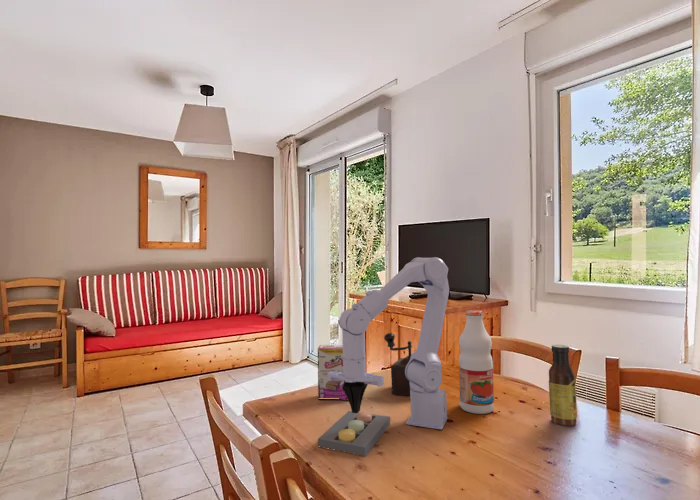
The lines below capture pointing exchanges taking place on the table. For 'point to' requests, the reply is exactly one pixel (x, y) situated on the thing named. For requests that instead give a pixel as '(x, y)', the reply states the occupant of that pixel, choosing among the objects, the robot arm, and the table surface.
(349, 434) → the mustard button
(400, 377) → the dark brown coffee grinder
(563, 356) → the sauce bottle
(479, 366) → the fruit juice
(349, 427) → the sage button
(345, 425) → the panel
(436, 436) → the table surface
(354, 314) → the robot arm
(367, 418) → the terracotta button
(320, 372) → the candy bar box
